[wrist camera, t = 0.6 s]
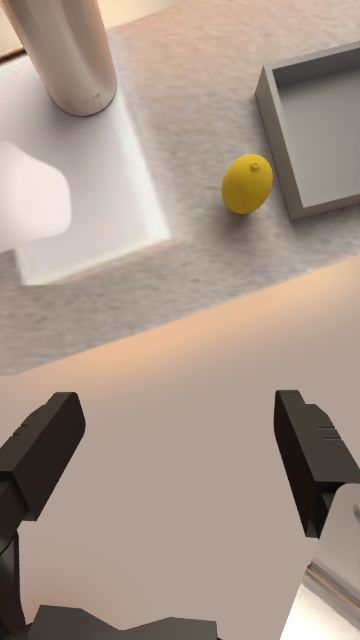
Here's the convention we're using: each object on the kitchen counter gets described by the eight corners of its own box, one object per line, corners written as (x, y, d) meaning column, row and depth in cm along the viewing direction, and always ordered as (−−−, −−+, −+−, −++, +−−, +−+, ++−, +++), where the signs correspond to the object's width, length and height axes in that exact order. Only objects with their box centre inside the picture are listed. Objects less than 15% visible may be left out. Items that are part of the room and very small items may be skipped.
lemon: (267, 209, 34) (293, 172, 26) (231, 231, 34) (247, 201, 26) (244, 174, 34) (264, 127, 26) (209, 196, 34) (217, 155, 26)
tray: (254, 92, 34) (263, 65, 31) (399, 56, 35) (424, 24, 31) (290, 220, 34) (303, 207, 30) (437, 183, 34) (468, 165, 30)
